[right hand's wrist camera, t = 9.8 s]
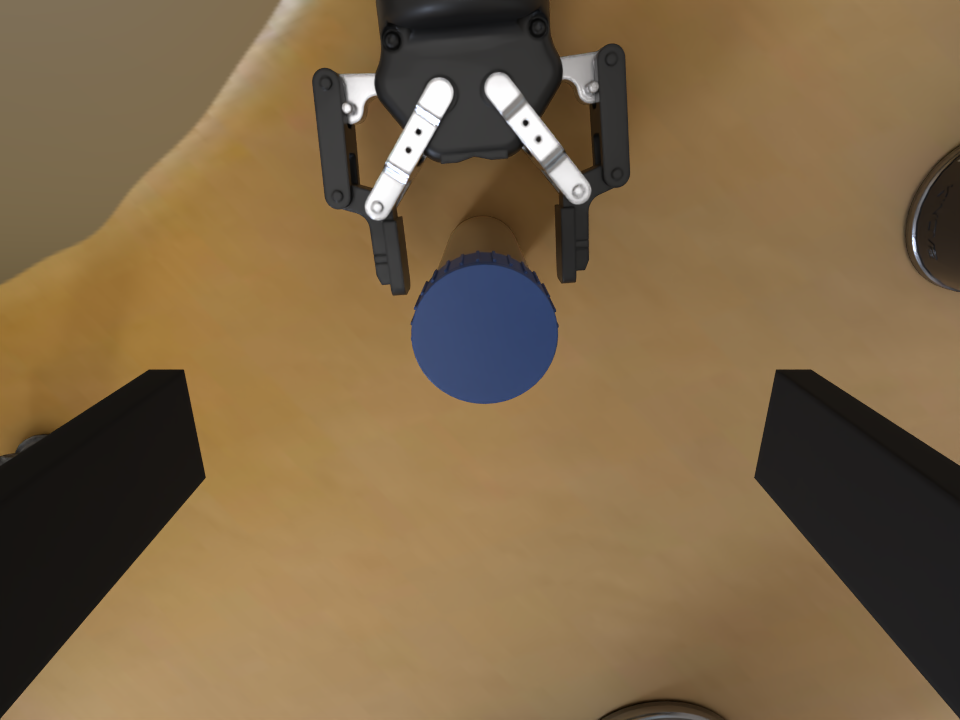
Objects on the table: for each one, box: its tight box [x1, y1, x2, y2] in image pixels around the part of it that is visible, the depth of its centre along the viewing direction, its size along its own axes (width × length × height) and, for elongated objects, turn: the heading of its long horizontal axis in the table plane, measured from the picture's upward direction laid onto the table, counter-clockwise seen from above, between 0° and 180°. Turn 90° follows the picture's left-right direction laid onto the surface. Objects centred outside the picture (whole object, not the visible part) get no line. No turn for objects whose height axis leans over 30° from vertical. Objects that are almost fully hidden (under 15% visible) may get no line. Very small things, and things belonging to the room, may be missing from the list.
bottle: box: [438, 216, 529, 270], centre depth 26 cm, size 4×4×17 cm
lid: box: [411, 251, 559, 404], centre depth 19 cm, size 5×5×2 cm
